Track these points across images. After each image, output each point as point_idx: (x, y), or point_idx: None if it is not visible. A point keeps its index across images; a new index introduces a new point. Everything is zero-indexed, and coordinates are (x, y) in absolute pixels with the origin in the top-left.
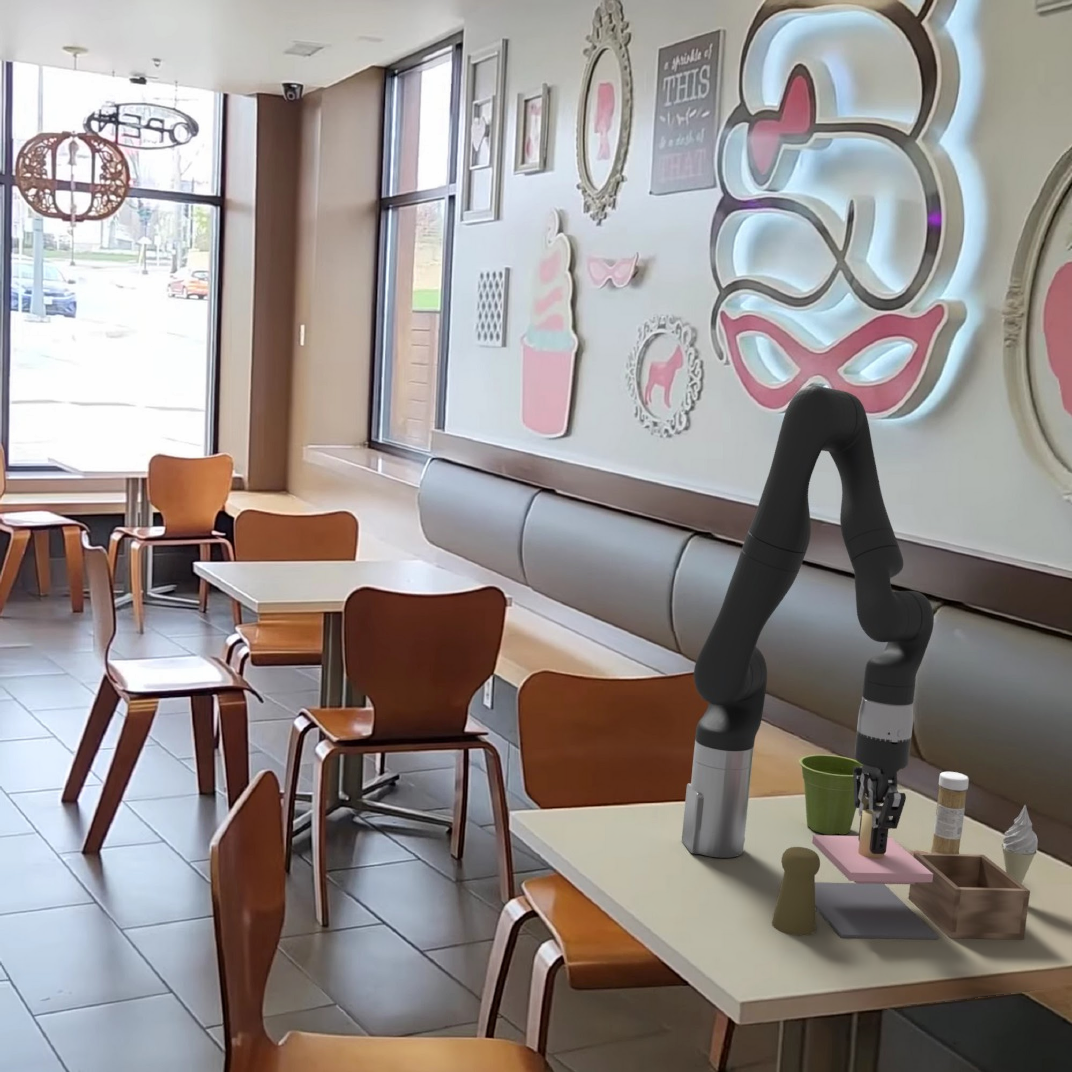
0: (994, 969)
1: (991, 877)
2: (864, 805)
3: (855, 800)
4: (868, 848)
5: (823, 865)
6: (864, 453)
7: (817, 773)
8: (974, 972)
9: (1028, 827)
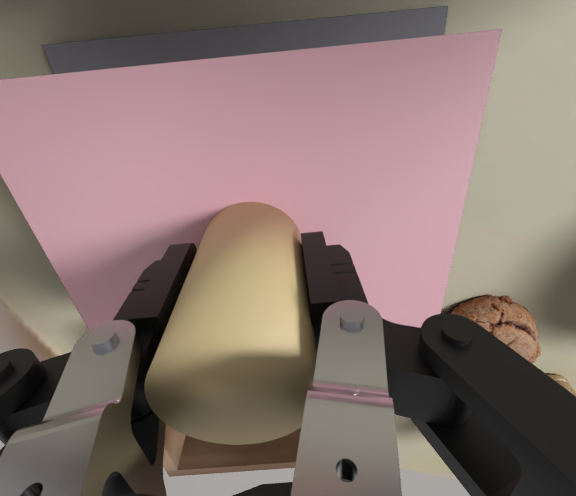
0: (38, 325)
1: (295, 436)
2: (313, 384)
3: (486, 352)
4: (201, 242)
5: (562, 151)
6: None
7: None
8: (2, 293)
9: None
